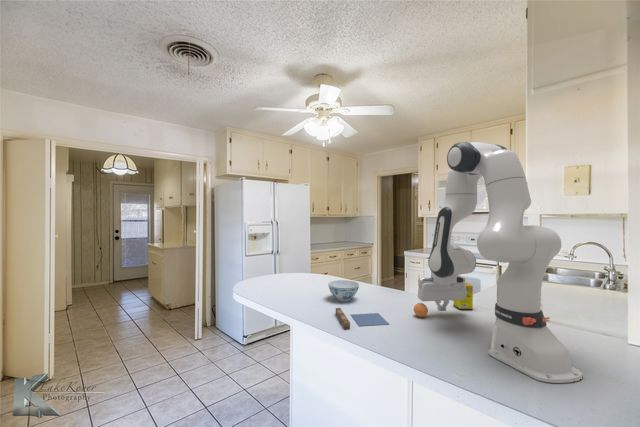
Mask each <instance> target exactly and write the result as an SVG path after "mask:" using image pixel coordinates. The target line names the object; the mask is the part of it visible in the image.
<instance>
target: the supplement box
mask: <svg viewBox="0 0 640 427" xmlns="http://www.w3.org/2000/svg"><path fill="white" fill-rule="evenodd" d="M464 284H465V285H466V291H467V296H466V298H465V299H464V300H453V307H454V308H456V309H457V310H459V311H473V305H474V304H473V302H474V301H473V299H474V297H473V295H474V292H473V290H474V289H473V288H474V286H473V285H472V284H470V283H468V282H466V281H465V283H464Z"/></svg>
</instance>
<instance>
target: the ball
mask: <svg viewBox="0 0 640 427" xmlns="http://www.w3.org/2000/svg"><path fill="white" fill-rule="evenodd" d="M428 310H429V309H428V307H427V305H426V304H425V303H422V302H418V303H416V304H415V305H414V307H413V312H414V314H415V316H417V317H419V318H424V317H426V316H427V315H428V312H429V311H428Z"/></svg>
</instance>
